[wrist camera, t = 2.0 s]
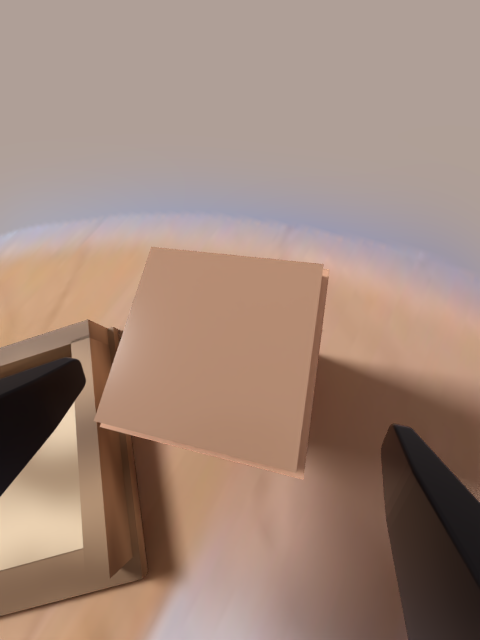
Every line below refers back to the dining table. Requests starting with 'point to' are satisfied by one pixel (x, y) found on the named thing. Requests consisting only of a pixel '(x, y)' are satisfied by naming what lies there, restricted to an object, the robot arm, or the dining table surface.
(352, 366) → the dining table surface
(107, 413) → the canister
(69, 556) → the square wooden tray
